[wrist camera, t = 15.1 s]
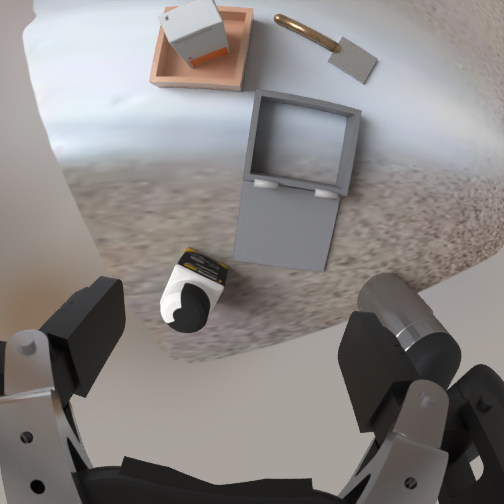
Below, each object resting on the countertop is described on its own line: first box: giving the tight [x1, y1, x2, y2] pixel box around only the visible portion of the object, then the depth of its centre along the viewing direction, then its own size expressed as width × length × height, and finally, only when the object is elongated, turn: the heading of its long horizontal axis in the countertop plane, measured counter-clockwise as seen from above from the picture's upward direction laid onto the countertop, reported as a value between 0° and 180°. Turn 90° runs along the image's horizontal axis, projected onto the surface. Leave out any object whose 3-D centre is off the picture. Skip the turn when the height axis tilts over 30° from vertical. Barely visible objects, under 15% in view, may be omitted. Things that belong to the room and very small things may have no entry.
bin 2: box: [233, 89, 362, 272], centre depth 39 cm, size 14×24×4 cm, turn 172°
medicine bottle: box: [160, 248, 228, 333], centre depth 40 cm, size 7×7×12 cm
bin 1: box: [149, 6, 254, 92], centre depth 32 cm, size 12×12×4 cm
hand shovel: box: [274, 14, 377, 84], centre depth 32 cm, size 16×5×2 cm, turn 62°
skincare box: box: [158, 0, 230, 68], centre depth 27 cm, size 6×4×12 cm
